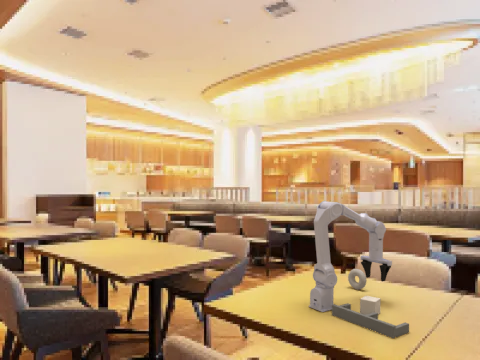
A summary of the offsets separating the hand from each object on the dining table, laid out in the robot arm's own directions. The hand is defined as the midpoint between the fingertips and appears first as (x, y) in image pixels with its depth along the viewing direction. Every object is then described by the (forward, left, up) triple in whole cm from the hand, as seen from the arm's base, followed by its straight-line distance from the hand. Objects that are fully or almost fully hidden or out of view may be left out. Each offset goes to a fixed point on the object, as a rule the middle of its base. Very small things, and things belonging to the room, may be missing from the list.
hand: (375, 279), depth 166 cm
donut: (+9, +17, -10) cm, 21 cm away
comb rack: (-25, -15, -10) cm, 30 cm away
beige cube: (-15, -8, -10) cm, 20 cm away
